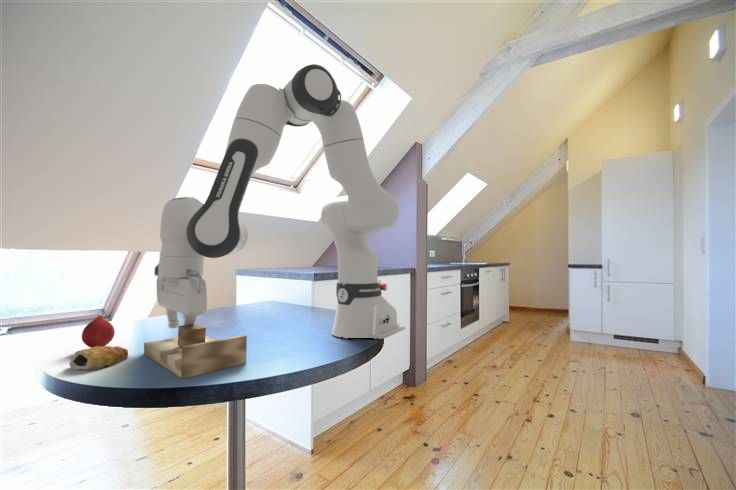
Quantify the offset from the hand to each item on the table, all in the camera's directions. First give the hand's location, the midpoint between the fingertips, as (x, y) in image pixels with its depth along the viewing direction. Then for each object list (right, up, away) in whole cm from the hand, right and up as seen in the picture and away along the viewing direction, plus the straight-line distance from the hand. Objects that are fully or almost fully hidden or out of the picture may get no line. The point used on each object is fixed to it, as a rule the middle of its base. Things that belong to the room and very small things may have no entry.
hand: (180, 330), depth 78 cm
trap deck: (+5, -5, -5) cm, 9 cm away
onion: (-19, -5, +1) cm, 20 cm away
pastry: (-12, -5, -9) cm, 15 cm away
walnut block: (+5, -2, -5) cm, 7 cm away
